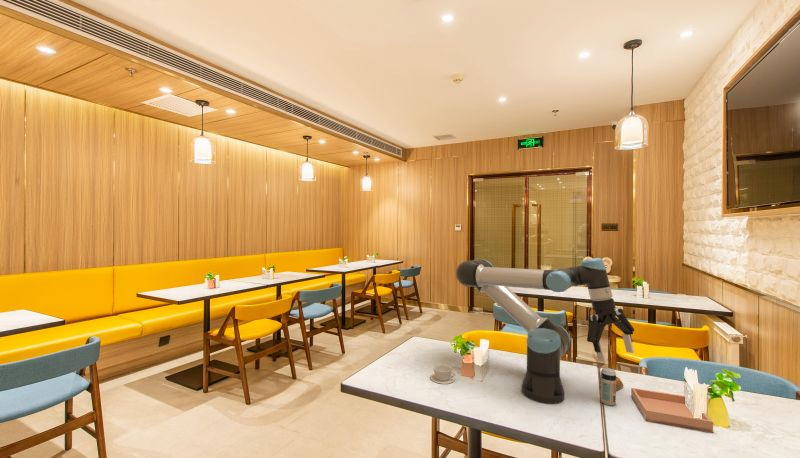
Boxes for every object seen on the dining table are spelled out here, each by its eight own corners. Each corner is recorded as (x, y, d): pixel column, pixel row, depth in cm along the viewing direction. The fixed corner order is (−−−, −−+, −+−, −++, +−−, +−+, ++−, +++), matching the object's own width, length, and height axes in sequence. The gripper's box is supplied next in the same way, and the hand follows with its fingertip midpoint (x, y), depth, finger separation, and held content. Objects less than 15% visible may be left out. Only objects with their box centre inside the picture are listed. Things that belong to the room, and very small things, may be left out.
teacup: (427, 382, 140) (427, 370, 140) (434, 372, 149) (434, 361, 149) (451, 386, 136) (451, 374, 136) (457, 376, 146) (457, 365, 146)
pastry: (615, 394, 133) (615, 384, 133) (596, 387, 138) (596, 378, 138) (624, 387, 139) (624, 377, 139) (605, 381, 144) (605, 372, 144)
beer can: (613, 401, 127) (614, 368, 127) (617, 407, 122) (618, 373, 122) (599, 398, 128) (599, 366, 128) (601, 405, 124) (602, 371, 124)
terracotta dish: (645, 421, 114) (645, 410, 114) (631, 397, 130) (631, 387, 130) (712, 433, 107) (713, 421, 107) (688, 406, 124) (688, 396, 124)
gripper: (583, 305, 124) (598, 366, 121) (635, 293, 131) (651, 350, 128) (568, 304, 131) (581, 362, 128) (618, 293, 138) (632, 347, 135)
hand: (616, 356), depth 128 cm, fingers open, 13 cm apart
